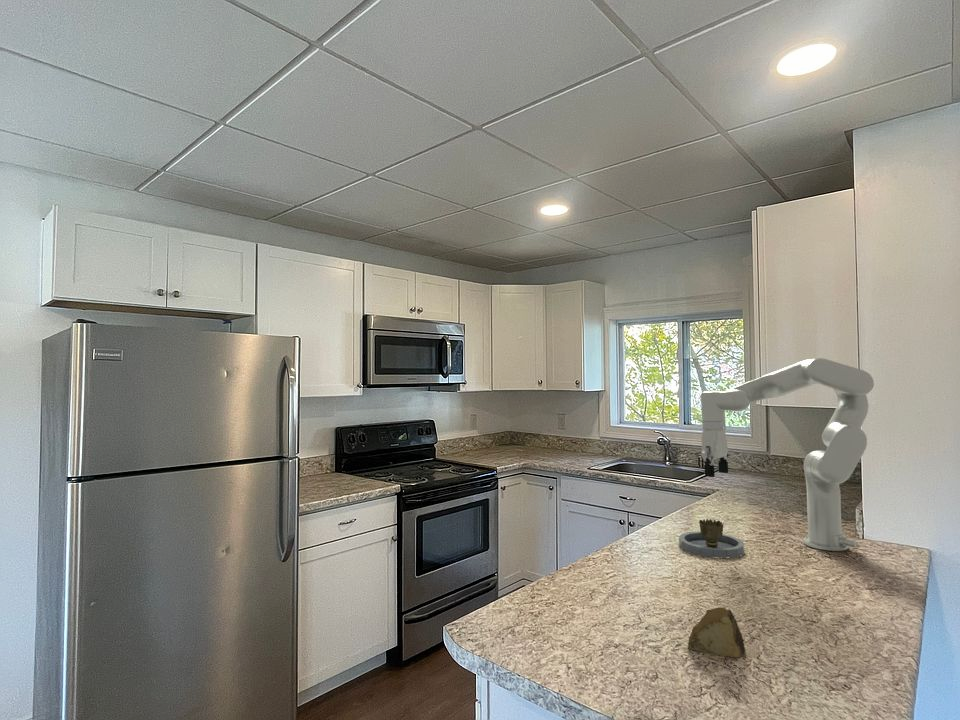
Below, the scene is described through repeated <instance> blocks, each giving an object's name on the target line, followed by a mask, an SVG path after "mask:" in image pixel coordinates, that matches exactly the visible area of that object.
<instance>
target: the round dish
mask: <svg viewBox="0 0 960 720" xmlns="http://www.w3.org/2000/svg"><path fill="white" fill-rule="evenodd" d="M717 543H718V545H717V546H716V547H709V546H707V545H706V540H704V539H703V537H702V535H701V531H687V532H684V533H681V534H680V535H679V536H678V546H679V548H680V547H681V548H682V549H681V548H680V549H681V550H683V551H684V550H685V552H686V551H687V553H689V552H690V553H689V554H692V553H693V554H692V555H695V554H696V555H695V556H699V555H700V556H701V557H704V556H706V557H705V558H710V557H719V558H718V559H727V558H726V557H736V558H738V557H737V556H740V555H742V556H744V555H745V553H746V550H745V542H744V541H742V540H741V538H740V539H739V538H737V537H735V536H733V535H729V534H725V533H722V538H721V540H720V541H719V542H717ZM744 552H745V553H744ZM743 554H744V555H743ZM721 557H722V558H721ZM740 557H741V556H740Z"/></svg>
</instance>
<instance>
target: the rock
mask: <svg viewBox="0 0 960 720" xmlns="http://www.w3.org/2000/svg"><path fill="white" fill-rule="evenodd" d="M687 649H688V650H690V651H697V652H701V653H706V654H711V655H715V656H716V655H717V656H722V657H731V658H738V659H739V658H740V657H743V656H744V655H745V654H746V652H747V651H746V647H745V642H744V638H743V634H742V633H741V631H740V627H739V625H738V622H737V620H736V618H735V616H734V614H733V611H732V610H731V609H726V608H725V607H715V608H712V609H707V610H706V611H705V614H704V615H703V616H702V618H700V620H699V621H698V623H697V624H696V625H694V626H693V627H692V630H691V633H690V635H689V637H688V642H687Z"/></svg>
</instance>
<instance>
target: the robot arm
mask: <svg viewBox="0 0 960 720" xmlns="http://www.w3.org/2000/svg"><path fill="white" fill-rule="evenodd" d="M874 383H875V381H874V378H873V377H872V375H871V374H870V373H869V372H867V371H866V370H863V369H860V368H857V367H854V366H850V365H848V364H843V363H840V362H836V361H834V360H830V359H827V358H822V357H815V358H807V359H804V360H801V361H798V362H796V363H794V364H791V365H789V366H787V367H786V366H785V367H784V368H781V369H778V370H776V371H773V372H770V373H768V374H765V375H762V376H761V377H759V378H754V379H753V380H750V381H747V382H744V383H742V384H739V385H736V386H734V387H731V388H729V389H727V390H725V391H720V390H706V391H702V392H701V394H700V406H701V421H702V422H701V424H702V432H701V454H700V455H701V458H702V459H701V460H702V462H703V465H704V476H705V477H709V478H714V477H715V475H716V474H715V465H714V462H715V460H718V473H722V474H728V473H729V457H730V456H729V454H730V453H729V451H730V448H729V447H728V440H727V434H726V430H727V428H726V411H730V412H743V411H745V410H747V409H748V408H749V406H750V404H752V403H755V402H756V403H757V402H759V401H762V400H766V399H774V398H779V397H783V396H786V395H789V394H791V393H794V392H796V391H799V390H801V389H805V388H808V387H810V386H812V385H816V384H819V385H822V386H825V387H828V388H829V389H830V388H831V389H832V390H834V392H835V394H836V396H837V397H836V398H837V405H836V407H835V410H834V411H833V414H832V416H831V418H830V419H829V421H828V423H827V424H826V426H825V428H824V429H823V431H822V434H821V440H822V442H823V444H824V445H825V446H826V450H818V449H817V450H813V451H811V452H809V453H807V455H806V456H805V458H804V459H803V471H804V472H803V473H804V477H805V485H806V510H807V511H806V512H807V513H806V514H807V536H805V537H803V539H802V542H803V543H802V544H804V545H806V546H807V547H811V548H812V549H817V550H821V551H828V552H830V551H832V552H843V551H848V549H849V547H853V548H856V547H857V545H858V543H857V541H856V540H855V539H851V538H847V537H846V533H843V532H842V528H843V527H842V508H841V506H842V505H841V500H842V499H841V497H842V496H841V489H840V484H841V485H842V484H843V483H845V482H846V481H847V480H848V479H849V478H850V477H851V476H852V474H853V473H854V470H855V469H856V468H857V465H858V464H859V462H860V460H861V458H862V457H863V455H864V452H866V449H867V445H868V439H867V434H866V433H865V431H864V430H863V429H862V426H863V423H864V421H865V420H866V418H867V415H868V412H869V400H868V394H869V393H870V392H872V390H873V388H874V385H875V384H874Z"/></svg>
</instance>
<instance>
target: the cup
mask: <svg viewBox="0 0 960 720" xmlns="http://www.w3.org/2000/svg"><path fill="white" fill-rule="evenodd" d="M698 524H699V529H700V532H701V535H702V537H703V539H704V540H706V545H707V546H709V547H716V546H717V545H718V543H717V542H719V541H720V540H721V538H722V534H724V533H723V531H724V523H723V522H722V521H720V520H719V519H718V520H716V519H713V520H712V519H708V518H707V519H706V520H705V519H703V520H702V519H699V521H698Z"/></svg>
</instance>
